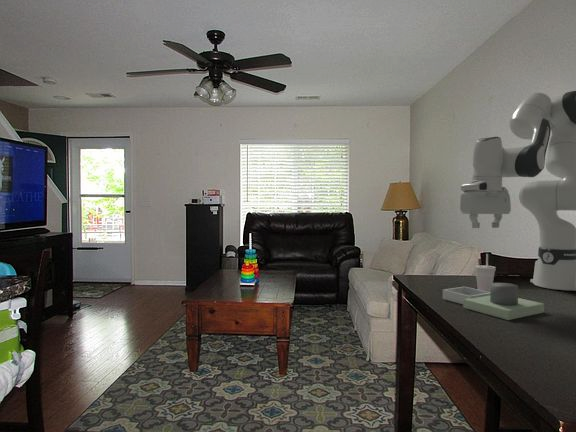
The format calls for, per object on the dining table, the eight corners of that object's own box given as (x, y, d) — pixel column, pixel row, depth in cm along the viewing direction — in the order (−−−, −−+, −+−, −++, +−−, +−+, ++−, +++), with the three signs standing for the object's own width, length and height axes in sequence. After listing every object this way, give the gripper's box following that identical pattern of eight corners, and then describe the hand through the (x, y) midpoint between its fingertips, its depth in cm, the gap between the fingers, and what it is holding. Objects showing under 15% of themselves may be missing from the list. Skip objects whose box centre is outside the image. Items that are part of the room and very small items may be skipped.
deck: (470, 294, 135) (470, 272, 135) (543, 312, 114) (544, 286, 114) (436, 299, 128) (436, 276, 128) (508, 320, 107) (508, 292, 106)
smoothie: (497, 298, 130) (498, 255, 130) (476, 297, 132) (477, 254, 131) (492, 293, 136) (492, 252, 136) (471, 292, 138) (472, 252, 137)
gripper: (499, 187, 140) (498, 227, 140) (457, 185, 131) (456, 227, 132) (516, 186, 134) (515, 228, 135) (473, 184, 126) (472, 228, 126)
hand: (485, 227), depth 133 cm, fingers open, 8 cm apart
